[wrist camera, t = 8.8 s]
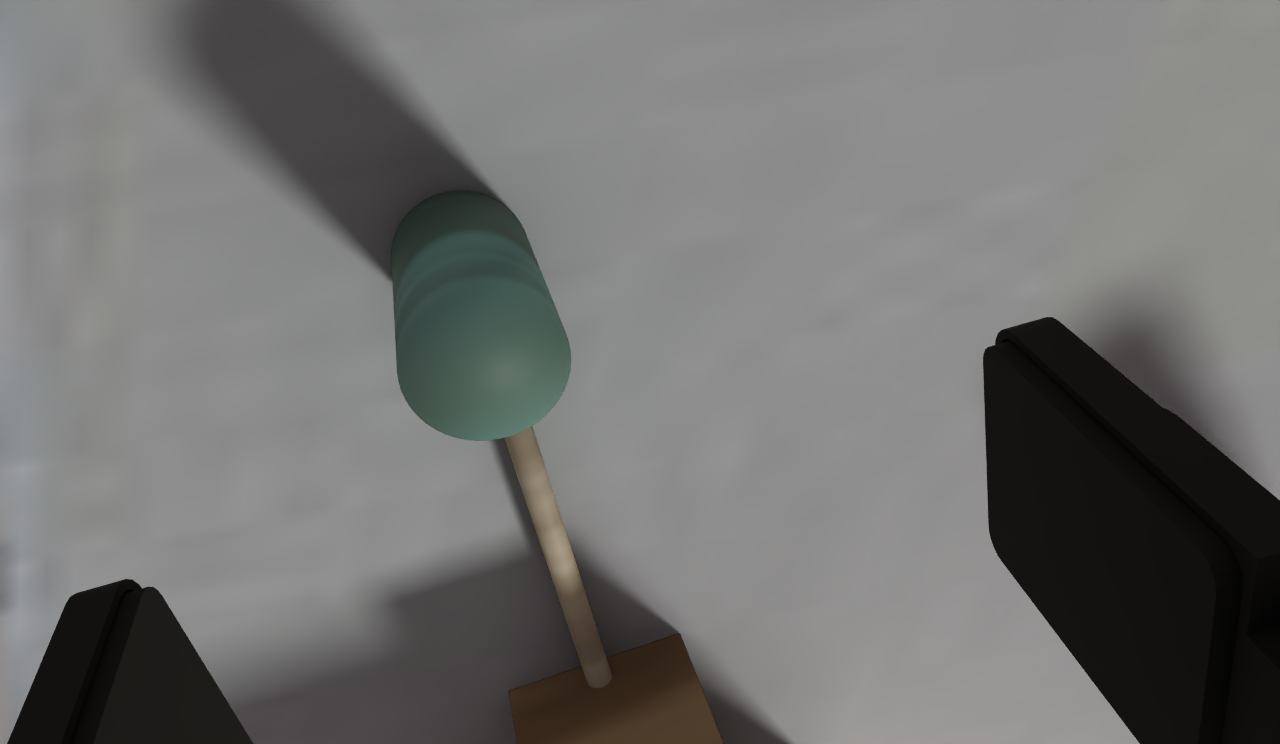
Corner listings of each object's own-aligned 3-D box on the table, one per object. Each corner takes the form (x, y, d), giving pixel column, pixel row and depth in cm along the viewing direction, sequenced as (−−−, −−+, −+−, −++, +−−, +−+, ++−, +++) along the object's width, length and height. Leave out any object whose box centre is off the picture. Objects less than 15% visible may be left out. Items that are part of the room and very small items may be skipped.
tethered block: (325, 226, 22) (312, 332, 17) (553, 160, 22) (602, 246, 17) (554, 807, 31) (587, 983, 26) (711, 752, 31) (773, 914, 27)
